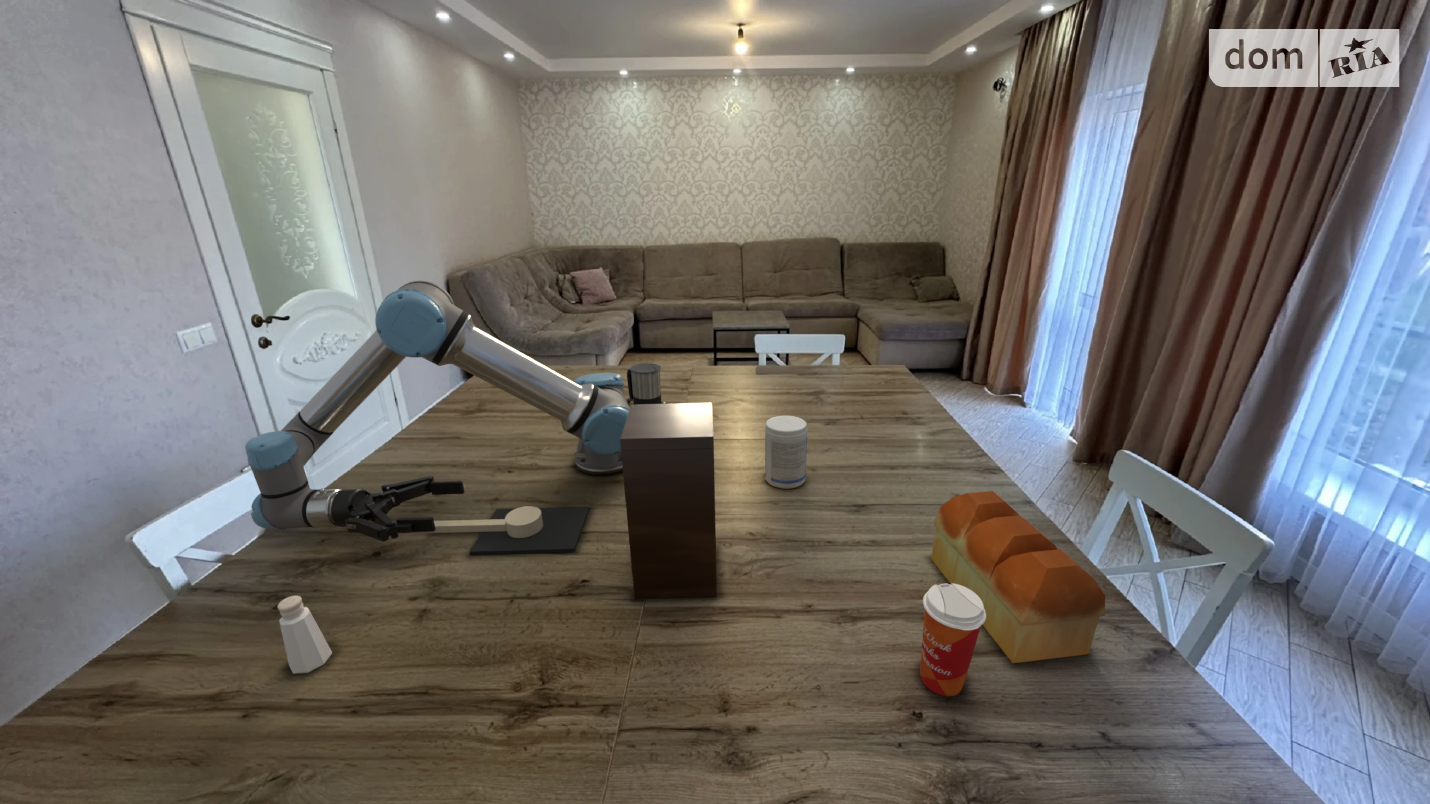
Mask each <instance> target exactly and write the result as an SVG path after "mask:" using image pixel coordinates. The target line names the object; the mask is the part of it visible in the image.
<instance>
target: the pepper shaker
mask: <svg viewBox="0 0 1430 804" xmlns="http://www.w3.org/2000/svg"><path fill="white" fill-rule="evenodd" d="M277 610H278V611H279V613H280V616H281V617H280V619H279V620H278V621H279V622H278V623H279V627H280V632H281V636H282V640H283V641H282V642H283V646H284V650H285V654H286V659H287V664H288V666H289V668H290V670H291V672H292V674H293V675H295V674H309V673H310V672H313V671H314V670H316V669H318V668H320V667H322V666H324V665H325V664H326V662H327V661H328V660H329V659H330V658H331V656H332V654H333V651H332V650H331V649H332V648H331V647H330V645H329V643H328V642H327V640H326V638H325V636H324V634H323V632H322V631H321V629H320V627H319V625H318V624H317V622H316V620H315V618H314V616H313V613H312V612H311V610H310V609H309V608H308V606H305V605H304V602H303V597H301V596H300V595H291V596H287V597H286V598H284V599H282V600H281V601H280V602H279V603H278V604H277Z"/></svg>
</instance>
